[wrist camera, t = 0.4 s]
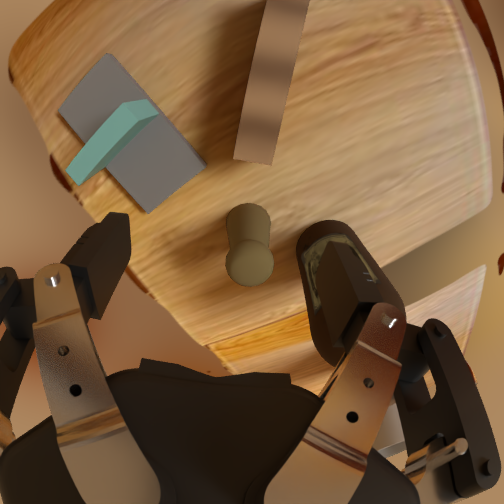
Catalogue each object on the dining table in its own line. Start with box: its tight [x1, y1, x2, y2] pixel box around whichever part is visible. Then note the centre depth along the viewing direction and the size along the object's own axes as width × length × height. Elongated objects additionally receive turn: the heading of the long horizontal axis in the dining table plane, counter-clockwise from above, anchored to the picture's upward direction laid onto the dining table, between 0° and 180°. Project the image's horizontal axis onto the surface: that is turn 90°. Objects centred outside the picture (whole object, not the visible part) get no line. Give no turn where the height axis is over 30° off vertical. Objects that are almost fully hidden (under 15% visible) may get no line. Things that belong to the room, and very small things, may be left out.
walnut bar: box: [233, 0, 310, 165], centre depth 25 cm, size 20×4×6 cm, turn 169°
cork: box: [225, 203, 274, 287], centre depth 33 cm, size 6×6×11 cm
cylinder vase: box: [372, 403, 407, 458], centre depth 44 cm, size 12×12×25 cm
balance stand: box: [58, 53, 207, 214], centre depth 27 cm, size 20×10×8 cm, turn 36°
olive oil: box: [296, 220, 406, 406], centre depth 30 cm, size 11×11×25 cm
